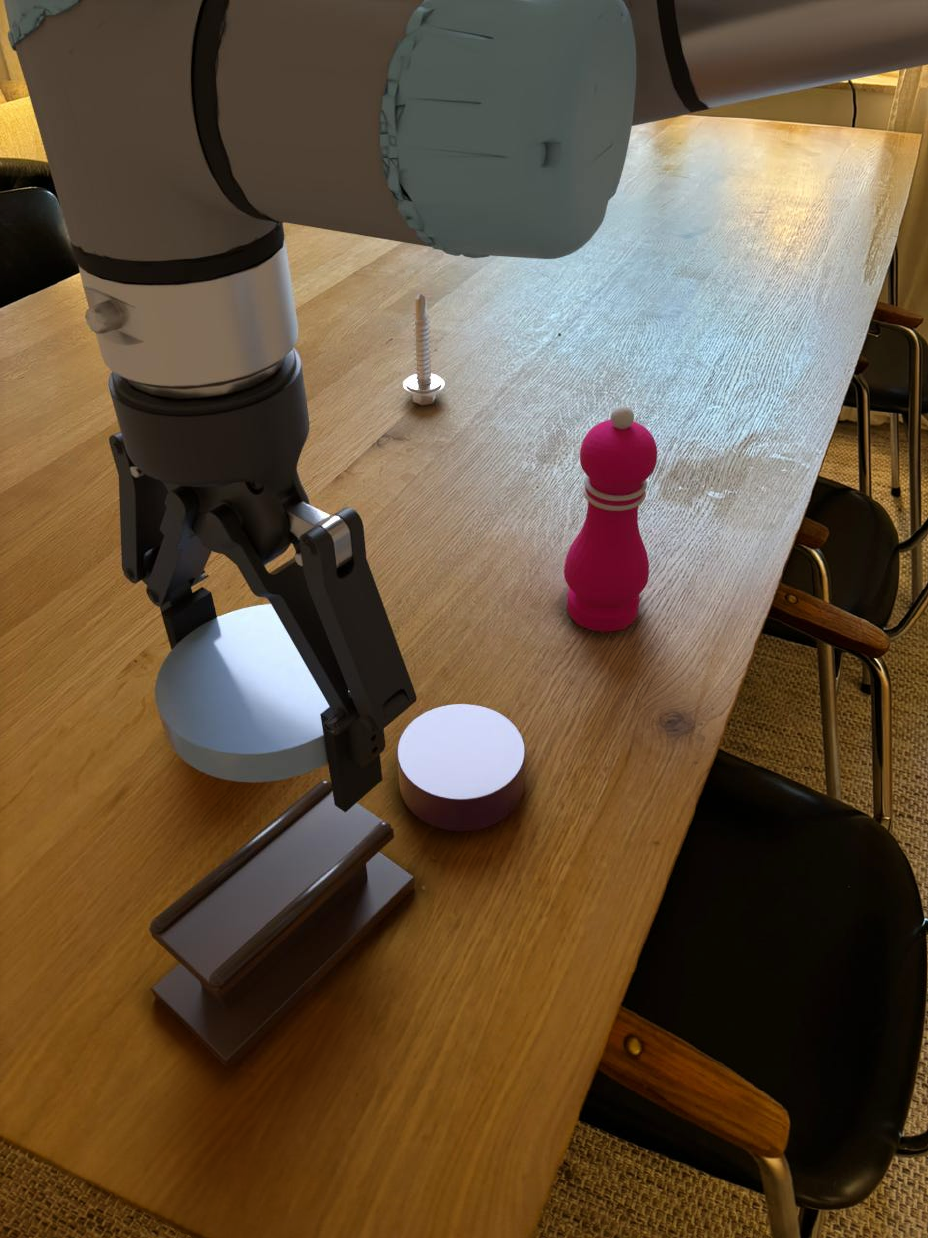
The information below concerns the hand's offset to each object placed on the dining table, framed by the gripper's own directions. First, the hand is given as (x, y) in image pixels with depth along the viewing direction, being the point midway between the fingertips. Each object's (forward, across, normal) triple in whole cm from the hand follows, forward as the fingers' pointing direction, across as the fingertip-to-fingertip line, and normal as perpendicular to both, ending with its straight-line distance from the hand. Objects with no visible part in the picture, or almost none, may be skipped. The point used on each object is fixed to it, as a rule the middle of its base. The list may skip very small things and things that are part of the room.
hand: (280, 739), depth 53 cm
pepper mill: (+18, -3, +38) cm, 42 cm away
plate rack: (+17, 0, -2) cm, 18 cm away
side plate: (-3, 0, 0) cm, 3 cm away
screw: (+17, -41, +58) cm, 73 cm away
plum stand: (+17, 0, +15) cm, 23 cm away
